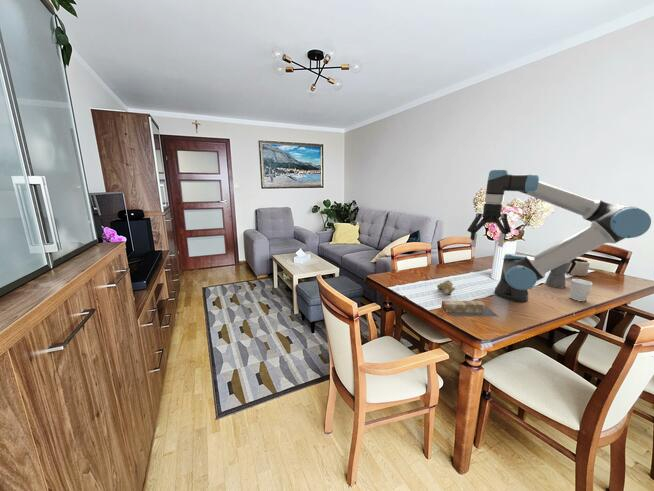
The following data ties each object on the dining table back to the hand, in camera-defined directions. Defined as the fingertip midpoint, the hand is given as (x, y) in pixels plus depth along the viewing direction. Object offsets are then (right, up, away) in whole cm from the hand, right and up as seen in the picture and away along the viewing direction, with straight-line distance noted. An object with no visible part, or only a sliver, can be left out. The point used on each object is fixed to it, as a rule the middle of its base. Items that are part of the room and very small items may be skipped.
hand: (486, 246), depth 137 cm
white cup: (+53, -28, +8) cm, 60 cm away
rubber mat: (-11, -31, -5) cm, 33 cm away
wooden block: (-6, -29, -6) cm, 30 cm away
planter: (+86, -19, +46) cm, 100 cm away
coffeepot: (+58, -23, +27) cm, 68 cm away
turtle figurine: (-14, -26, +14) cm, 33 cm away
